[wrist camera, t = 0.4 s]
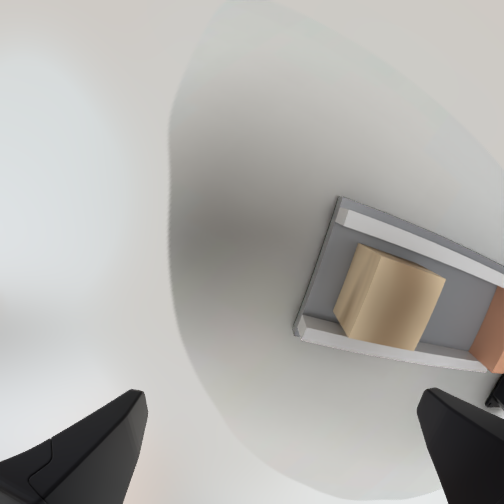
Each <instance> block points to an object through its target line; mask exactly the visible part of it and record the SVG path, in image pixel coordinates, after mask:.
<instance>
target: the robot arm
mask: <svg viewBox="0 0 504 504" xmlns="http://www.w3.org/2000/svg"><path fill="white" fill-rule="evenodd" d="M485 406H486V407H501V408H502V409H503V410H504V374H503V376H502V377H501V379H500V381H499V382H498V384H497V386H496V387H495V389H494V391H493V392H492V394H491V396H490V397H489V399H488V400H487V402H486V404H485ZM417 415H418V419H419V422H420V425H421V428H422V432H423V435H424V439H425V442H426V445H427V448H428V451H429V454H430V456H431V459H432V461H433V464H434V466H435V469H436V471H437V474H438V477H439V479H440V482H441V485H442V487H443V490H444V493H445V495H446V498H447V501H448V504H504V419H502V418H500V417H498V416H495V415H493V414H491V413H489V412H487V411H484V410H482V409H480V408H478V407H476V406H474V405H471V404H469V403H467V402H465V401H463V400H461V399H459V398H457V397H454V396H452V395H450V394H448V393H446V392H444V391H442V390H440V389H438V388H430V389H426V390H425V391H424V393H423V395H422V398H421V400H420V402H419V405H418V407H417ZM147 417H148V409H147V405H146V398H145V394H144V392H143V391H140V390H134V389H131V390H129V391H127V392H125V393H124V394H122V395H121V396H119V397H117V398H116V399H115V400H113V401H111V402H110V403H108V404H107V405H105V406H103V407H102V408H100V409H98V410H97V411H95V412H93V413H92V414H91V415H89V416H87V417H86V418H84V419H82V420H80V421H79V422H77V423H75V424H74V425H72V426H70V427H69V428H67V429H65V430H63V431H62V432H60V433H58V434H57V435H55V436H53V437H52V438H51V439H48V440H46V441H44V442H43V443H41V444H39V445H37V446H35V447H33V448H32V449H29V450H27V451H25V452H23V453H21V454H18V455H16V456H14V457H11V458H9V459H6V460H4V461H1V462H0V504H123V501H124V498H125V495H126V492H127V489H128V487H129V483H130V481H131V478H132V475H133V472H134V469H135V466H136V464H137V460H138V457H139V454H140V450H141V445H142V440H143V435H144V431H145V426H146V422H147Z"/></svg>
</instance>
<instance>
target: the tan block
mask: <svg viewBox="0 0 504 504" xmlns="http://www.w3.org/2000/svg"><path fill="white" fill-rule="evenodd" d="M445 281H446V279H445V278H443V277H441V276H439V275H438V274H436V273H434V272H432V271H430V270H428V269H427V268H425V267H423V266H421V265H419V264H417V263H415V262H412V261H409V260H406V259H404V258H401V257H398V256H395V255H392V254H390V253H387V252H384V251H381V250H378V249H375V248H372V247H369V246H367V245H364V244H361V243H358V245H357V248H356V251H355V254H354V257H353V259H352V262H351V265H350V268H349V270H348V273H347V276H346V278H345V281H344V284H343V286H342V289H341V292H340V294H339V297H338V299H337V302H336V304H335V307H334V309H333V312H334V314H335V316H336V317H337V319H338V321H339V323H340V324H341V326H342V328H343V329H344V331H345V333H346V335H347V336H348V338H352V339H356V340H361V341H365V342H370V343H375V344H379V345H384V346H389V347H394V348H399V349H404V350H410V351H414V350H415V348H416V346H417V344H418V342H419V340H420V338H421V336H422V334H423V332H424V330H425V328H426V325H427V323H428V321H429V319H430V317H431V314H432V312H433V310H434V308H435V305H436V303H437V301H438V298H439V296H440V293H441V291H442V288H443V286H444V283H445Z"/></svg>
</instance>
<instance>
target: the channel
mask: <svg viewBox="0 0 504 504" xmlns="http://www.w3.org/2000/svg"><path fill="white" fill-rule="evenodd" d="M358 243H361V244H364V245H367V246H369V247H372V248H375V249H378V250H381V251H384V252H387V253H390V254H392V255H395V256H398V257H401V258H404V259H406V260H409V261H412V262H415V263H417V264H419V265H421V266H423V267H425V268H427V269H428V270H430V271H432V272H434V273H436V274H438V275H439V276H441V277H443V278H445V279H446V281H445V283H444V286H443V288H442V291H441V293H440V296H439V298H438V301H437V303H436V305H435V308H434V310H433V312H432V314H431V317H430V319H429V321H428V323H427V325H426V328H425V330H424V332H423V334H422V336H421V338H420V340H419V342H418V344H417V346H416V348H415V350H414V351H410V350H404V349H399V348H394V347H389V346H384V345H379V344H375V343H370V342H365V341H361V340H356V339H352V338H348V336H347V335H346V333H345V331H344V329H343V328H342V326H341V324H340V323H339V321H338V319H337V317H336V316H335V314H334V312H333V309H334V307H335V304H336V302H337V299H338V297H339V294H340V292H341V289H342V286H343V284H344V281H345V278H346V276H347V273H348V270H349V268H350V265H351V262H352V259H353V257H354V254H355V251H356V248H357V245H358ZM292 330H293V334H294V336H298V337H300V338H301V341H305V342H309V343H313V344H318V345H322V346H326V347H331V348H336V349H340V350H345V351H350V352H355V353H360V354H365V355H370V356H375V357H381V358H386V359H392V360H398V361H404V362H410V363H416V364H422V365H429V366H436V367H443V368H450V369H458V370H466V371H475V372H485V373H486V372H487V370H489V371H490V372H491V373H500V374H503V373H504V266H502V265H500V264H498V263H496V262H494V261H492V260H490V259H488V258H486V257H484V256H482V255H480V254H478V253H476V252H474V251H472V250H470V249H468V248H466V247H463V246H461V245H459V244H457V243H455V242H453V241H451V240H448V239H446V238H444V237H442V236H439V235H437V234H435V233H433V232H430V231H428V230H426V229H423V228H421V227H419V226H416V225H414V224H412V223H409V222H407V221H404V220H402V219H400V218H397V217H395V216H392V215H390V214H387V213H385V212H382V211H380V210H377V209H374V208H372V207H369V206H367V205H364V204H361V203H359V202H356V201H353V200H351V199H348V198H345V197H341V196H339V198H338V201H337V204H336V207H335V210H334V213H333V217H332V220H331V223H330V226H329V229H328V232H327V235H326V238H325V241H324V244H323V247H322V250H321V253H320V256H319V258H318V261H317V264H316V267H315V270H314V273H313V276H312V278H311V281H310V284H309V287H308V289H307V292H306V295H305V297H304V300H303V303H302V306H301V308H300V311H299V313H298V316H297V319H296V321H295V324H294V326H293V329H292Z"/></svg>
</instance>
